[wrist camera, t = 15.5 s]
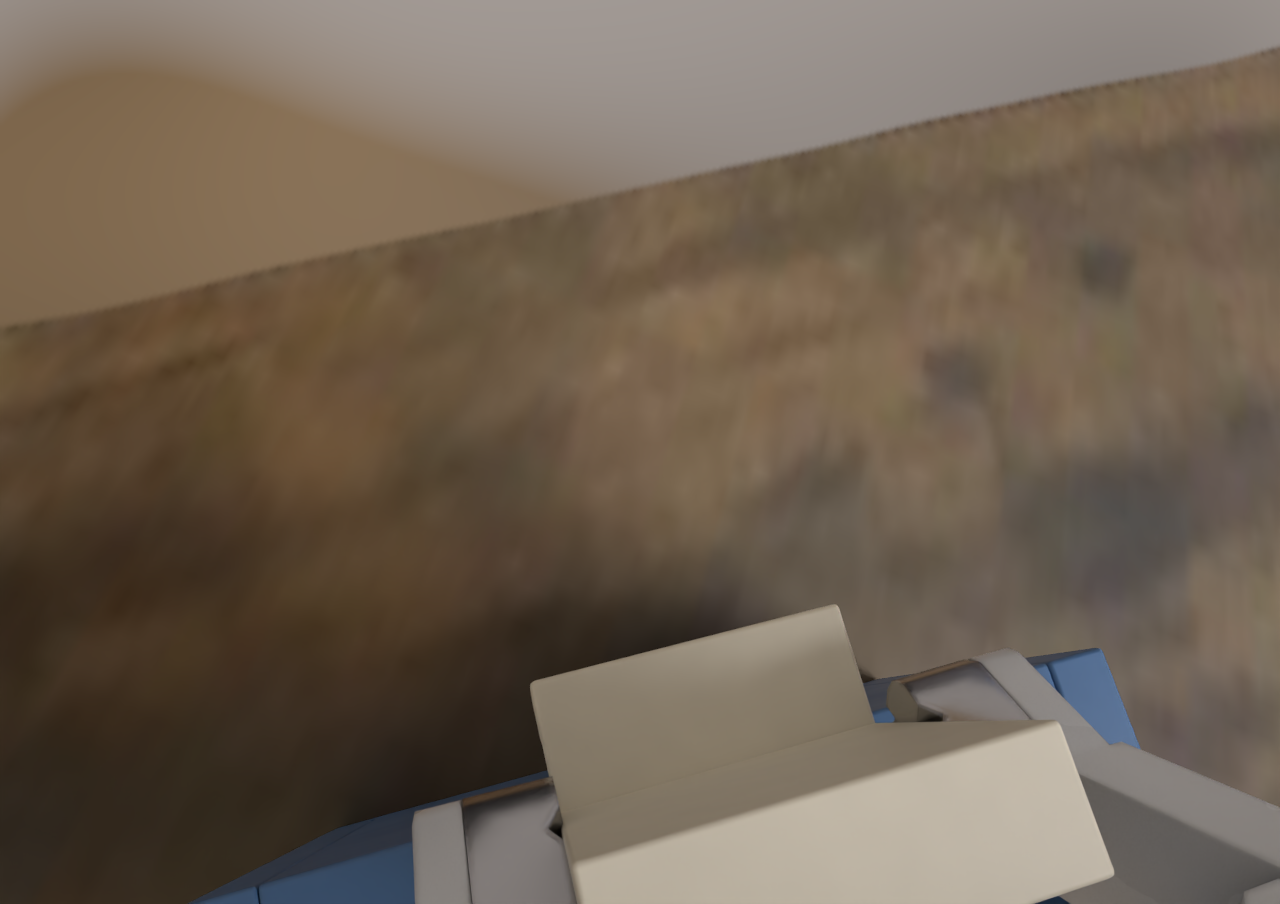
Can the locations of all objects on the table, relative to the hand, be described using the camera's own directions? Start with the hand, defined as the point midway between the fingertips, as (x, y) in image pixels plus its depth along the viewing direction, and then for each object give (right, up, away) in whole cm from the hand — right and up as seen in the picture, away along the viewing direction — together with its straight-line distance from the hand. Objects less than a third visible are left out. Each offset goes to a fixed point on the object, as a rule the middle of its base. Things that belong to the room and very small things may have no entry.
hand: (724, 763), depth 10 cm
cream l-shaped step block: (-1, -3, +7) cm, 7 cm away
